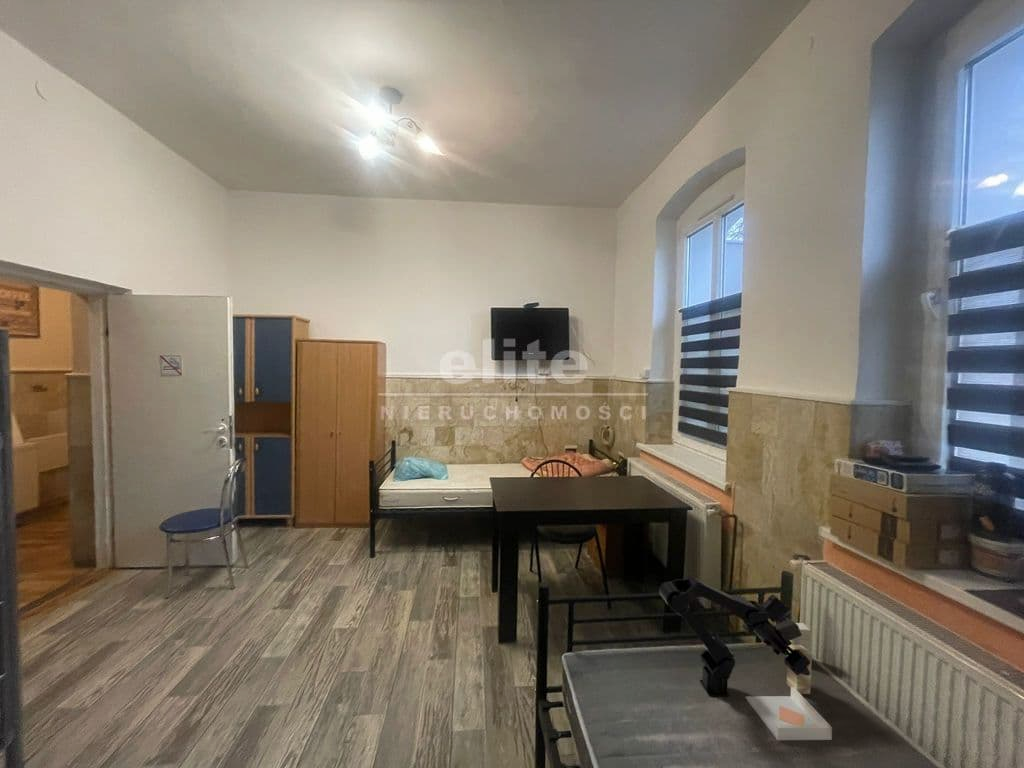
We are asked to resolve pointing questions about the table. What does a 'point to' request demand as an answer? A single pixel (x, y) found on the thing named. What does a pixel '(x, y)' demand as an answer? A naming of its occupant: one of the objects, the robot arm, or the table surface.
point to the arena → (791, 717)
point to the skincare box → (802, 637)
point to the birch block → (800, 681)
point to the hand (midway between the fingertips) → (798, 664)
